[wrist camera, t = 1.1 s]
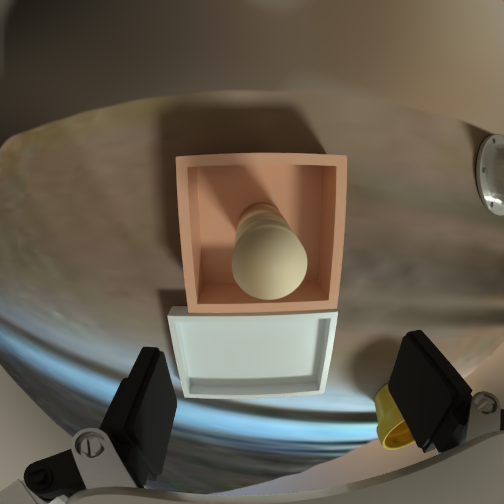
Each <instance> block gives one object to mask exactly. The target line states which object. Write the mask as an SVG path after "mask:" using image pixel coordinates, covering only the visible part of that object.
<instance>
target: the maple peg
mask: <svg viewBox="0 0 504 504" xmlns="http://www.w3.org/2000/svg"><path fill="white" fill-rule="evenodd" d="M306 271H307V255H306V252H305V250H304V248H303V246H302V244H301V243H300V241H299V240H298V238H297V237H296V235H295V234H294V232H293V231H292V229H291V228H290V226H289V225H288V223H287V222H286V220H285V219H284V217H283V216H282V214H281V213H280V211H279V210H278V209H277V208H276V207H274V206H273V205H270V204H268V203H254V204H251V205H250V206H248V207H246V208H245V209H244V210H243V211H242V213H241V214H240V216H239V218H238V223H237V229H236V236H235V243H234V250H233V257H232V272H233V276H234V279H235V281H236V282H237V284H238V285H239V287H240V288H241V289H242V290H243V291H244V292H246V293H247V294H249V295H251V296H253V297H255V298H259V299H264V300H273V299H278V298H282V297H284V296H286V295H288V294H290V293H292V292H293V291H294V290H295V289H296V288H297V287H298V286H299V285H300V284H301V282H302V281H303V279H304V277H305V274H306Z"/></svg>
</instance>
